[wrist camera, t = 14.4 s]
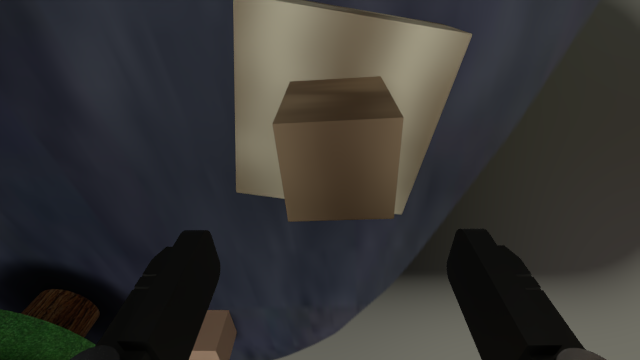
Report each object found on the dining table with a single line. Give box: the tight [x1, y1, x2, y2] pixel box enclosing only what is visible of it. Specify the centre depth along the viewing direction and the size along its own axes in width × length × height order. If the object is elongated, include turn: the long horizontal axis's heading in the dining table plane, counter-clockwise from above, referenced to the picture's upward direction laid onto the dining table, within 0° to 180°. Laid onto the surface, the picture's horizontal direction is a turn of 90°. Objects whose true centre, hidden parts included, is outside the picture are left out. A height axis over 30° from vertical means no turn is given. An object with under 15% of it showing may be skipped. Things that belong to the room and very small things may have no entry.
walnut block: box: [272, 76, 404, 222], centre depth 15 cm, size 5×5×6 cm
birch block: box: [233, 0, 472, 215], centre depth 20 cm, size 12×12×5 cm
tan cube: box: [189, 310, 237, 360], centre depth 36 cm, size 5×5×5 cm
